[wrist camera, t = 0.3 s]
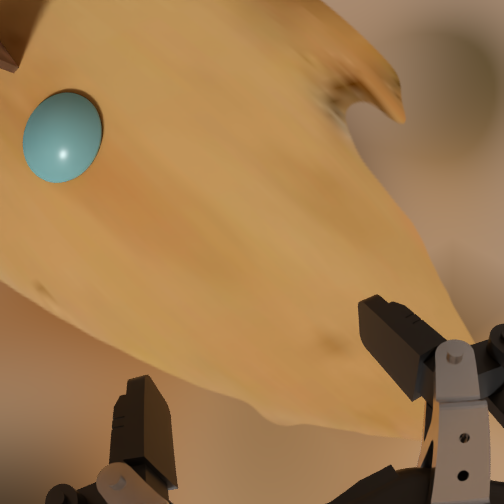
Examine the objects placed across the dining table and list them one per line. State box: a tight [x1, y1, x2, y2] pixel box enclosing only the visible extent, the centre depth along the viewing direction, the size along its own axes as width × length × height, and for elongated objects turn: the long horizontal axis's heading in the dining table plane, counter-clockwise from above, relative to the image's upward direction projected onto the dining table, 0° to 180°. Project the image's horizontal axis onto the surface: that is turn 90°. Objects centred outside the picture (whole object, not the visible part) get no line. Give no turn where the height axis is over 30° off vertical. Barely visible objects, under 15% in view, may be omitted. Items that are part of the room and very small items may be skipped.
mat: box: [23, 93, 102, 183], centre depth 31 cm, size 11×11×1 cm
